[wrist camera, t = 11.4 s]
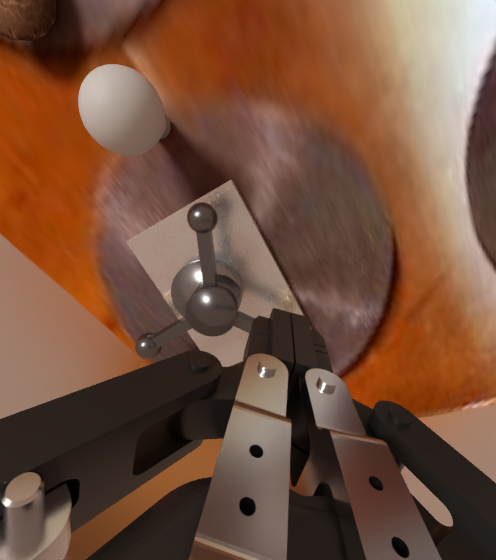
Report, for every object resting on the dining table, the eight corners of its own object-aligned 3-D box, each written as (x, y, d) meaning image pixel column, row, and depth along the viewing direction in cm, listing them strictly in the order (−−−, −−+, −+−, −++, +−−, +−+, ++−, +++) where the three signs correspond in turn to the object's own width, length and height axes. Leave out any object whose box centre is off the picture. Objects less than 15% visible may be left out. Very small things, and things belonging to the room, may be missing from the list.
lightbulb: (146, 166, 32) (84, 165, 21) (122, 104, 30) (41, 70, 19) (198, 148, 30) (159, 138, 20) (177, 82, 28) (121, 34, 18)
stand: (311, 326, 37) (313, 334, 35) (217, 365, 40) (214, 374, 38) (233, 179, 31) (230, 179, 29) (131, 238, 35) (124, 242, 33)
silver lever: (301, 191, 29) (307, 197, 24) (301, 333, 35) (306, 364, 29) (126, 203, 31) (94, 210, 26) (154, 335, 37) (132, 364, 31)
